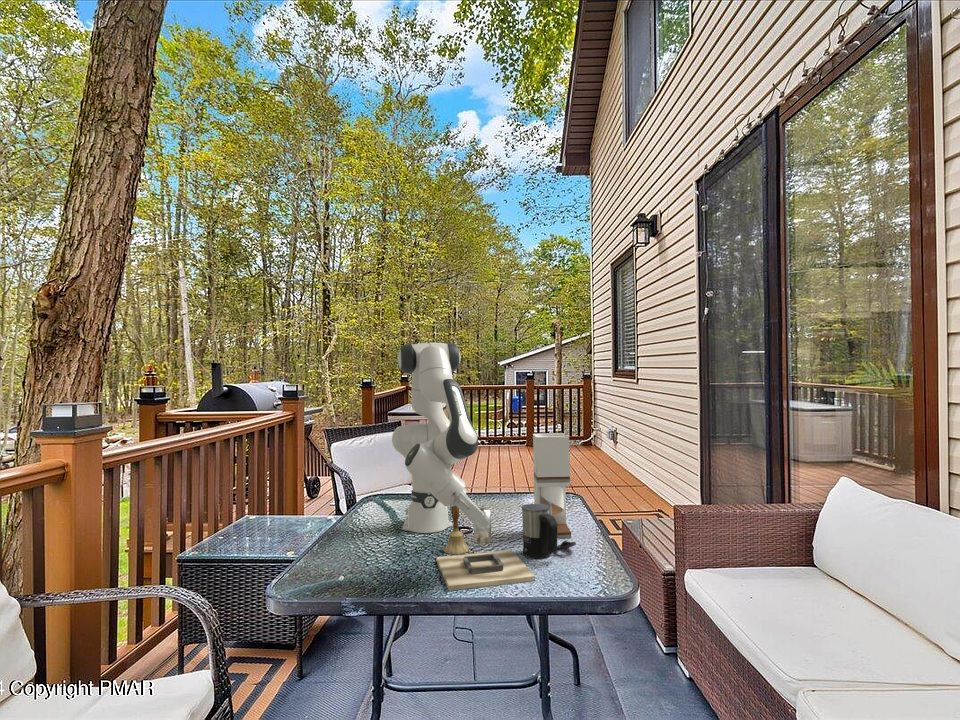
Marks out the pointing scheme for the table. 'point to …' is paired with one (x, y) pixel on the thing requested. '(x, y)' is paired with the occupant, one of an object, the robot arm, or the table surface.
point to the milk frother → (540, 532)
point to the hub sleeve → (483, 528)
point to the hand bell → (456, 536)
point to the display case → (552, 476)
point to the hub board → (483, 569)
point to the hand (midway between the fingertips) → (484, 521)
